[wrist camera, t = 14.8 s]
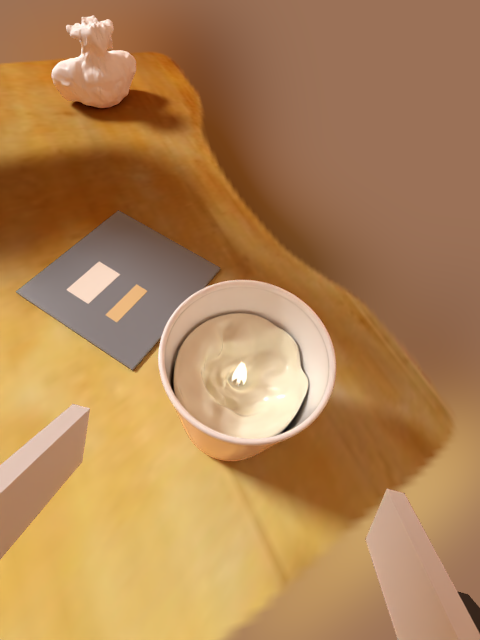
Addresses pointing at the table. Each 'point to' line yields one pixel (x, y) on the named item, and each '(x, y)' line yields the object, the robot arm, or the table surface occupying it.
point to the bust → (95, 67)
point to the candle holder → (245, 367)
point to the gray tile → (119, 286)
